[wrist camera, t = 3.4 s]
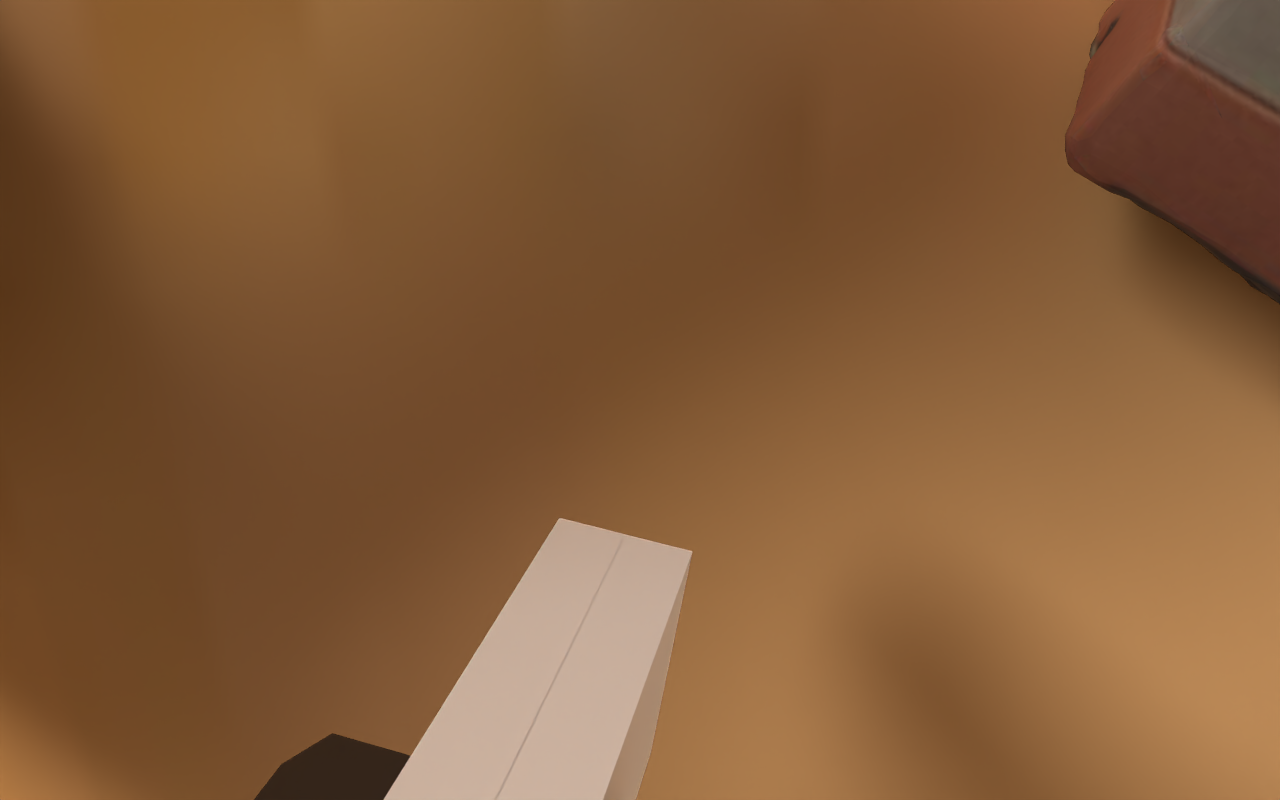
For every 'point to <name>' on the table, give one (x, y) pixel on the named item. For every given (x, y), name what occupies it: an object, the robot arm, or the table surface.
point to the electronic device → (1190, 123)
